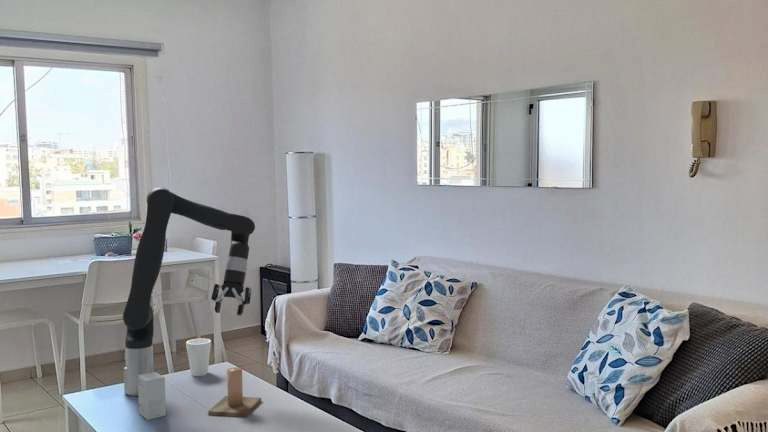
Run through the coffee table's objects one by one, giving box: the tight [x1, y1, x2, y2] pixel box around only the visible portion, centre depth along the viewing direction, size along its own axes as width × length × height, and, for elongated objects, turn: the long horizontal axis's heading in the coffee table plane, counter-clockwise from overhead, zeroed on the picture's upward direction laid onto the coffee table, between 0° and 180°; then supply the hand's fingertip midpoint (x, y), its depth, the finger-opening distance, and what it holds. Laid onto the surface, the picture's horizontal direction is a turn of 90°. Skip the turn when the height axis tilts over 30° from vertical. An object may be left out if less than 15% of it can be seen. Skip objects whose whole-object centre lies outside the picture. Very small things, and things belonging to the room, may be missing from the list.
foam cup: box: [185, 337, 212, 377], centre depth 265 cm, size 10×9×13 cm
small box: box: [137, 371, 167, 420], centre depth 221 cm, size 8×6×13 cm
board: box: [207, 395, 262, 418], centre depth 228 cm, size 13×15×1 cm
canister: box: [226, 366, 244, 407], centre depth 227 cm, size 5×5×12 cm
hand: (228, 314), depth 244 cm, fingers open, 8 cm apart
